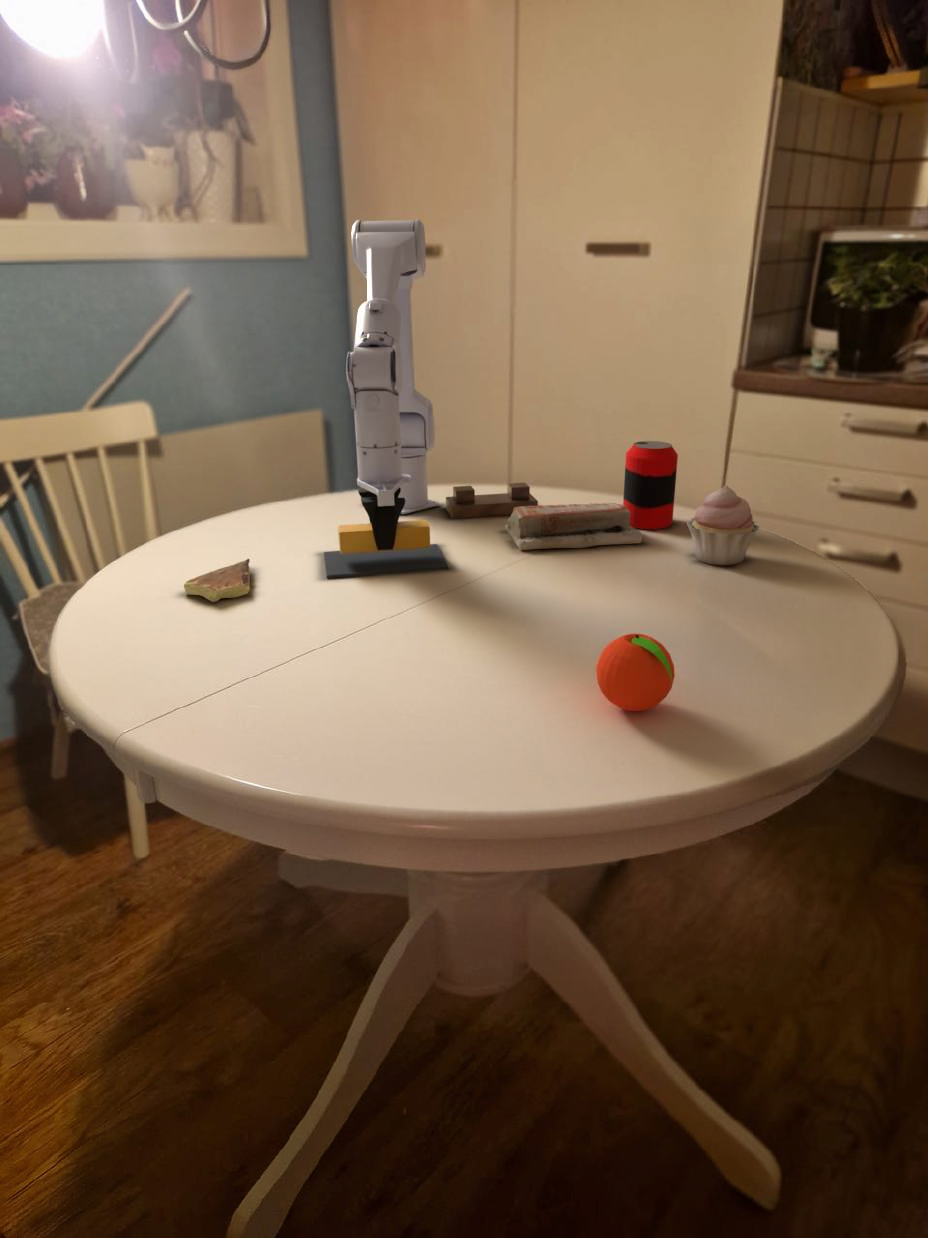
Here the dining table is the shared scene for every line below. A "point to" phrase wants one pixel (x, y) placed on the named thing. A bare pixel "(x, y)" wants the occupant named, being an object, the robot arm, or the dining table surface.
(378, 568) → the mat
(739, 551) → the cupcake
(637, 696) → the clementine
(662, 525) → the soda can
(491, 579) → the dining table surface
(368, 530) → the bar
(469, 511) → the brown two-peg stand
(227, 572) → the shard
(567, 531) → the packaged product
